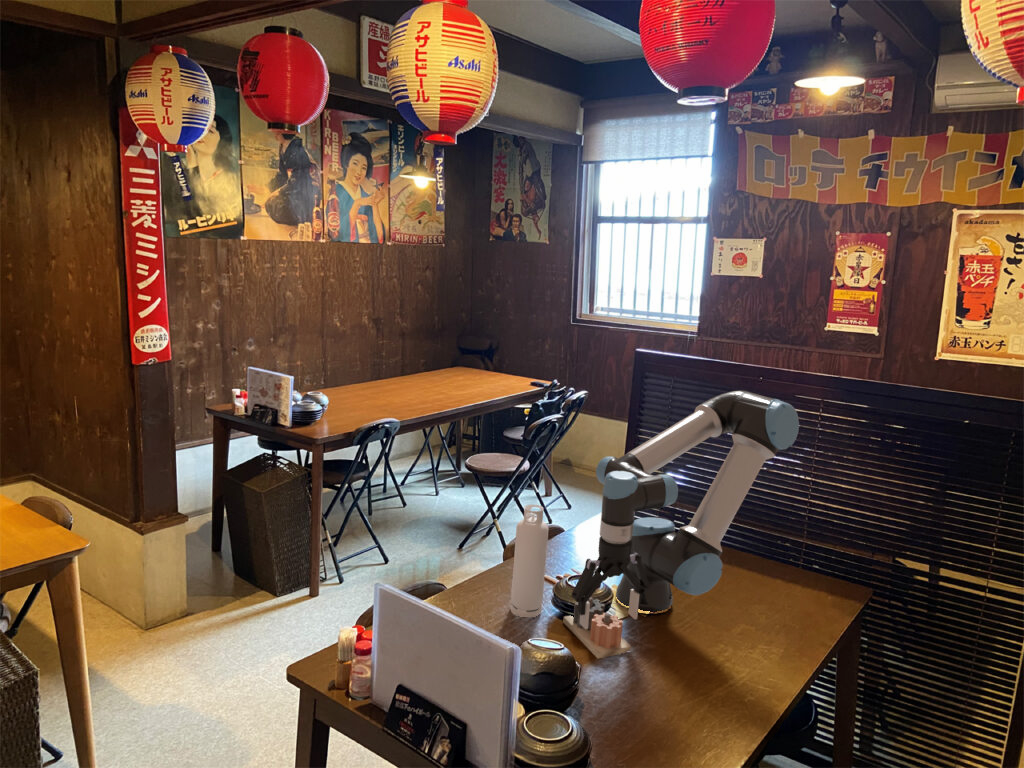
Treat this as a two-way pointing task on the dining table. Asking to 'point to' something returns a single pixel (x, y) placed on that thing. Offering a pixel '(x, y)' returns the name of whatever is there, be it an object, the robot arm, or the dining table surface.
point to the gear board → (584, 634)
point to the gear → (606, 631)
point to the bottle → (529, 563)
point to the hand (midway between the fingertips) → (608, 621)
